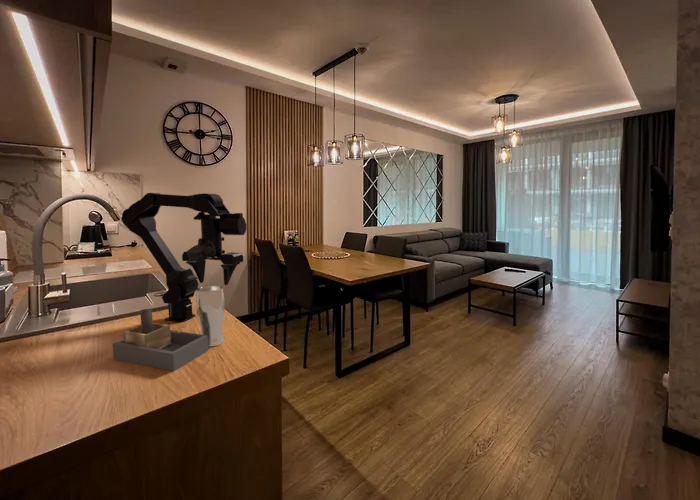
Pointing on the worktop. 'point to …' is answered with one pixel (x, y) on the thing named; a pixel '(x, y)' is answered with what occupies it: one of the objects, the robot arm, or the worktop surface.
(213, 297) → the beer glass
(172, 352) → the bay
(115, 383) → the worktop surface
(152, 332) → the crate
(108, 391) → the worktop surface
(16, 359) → the worktop surface
